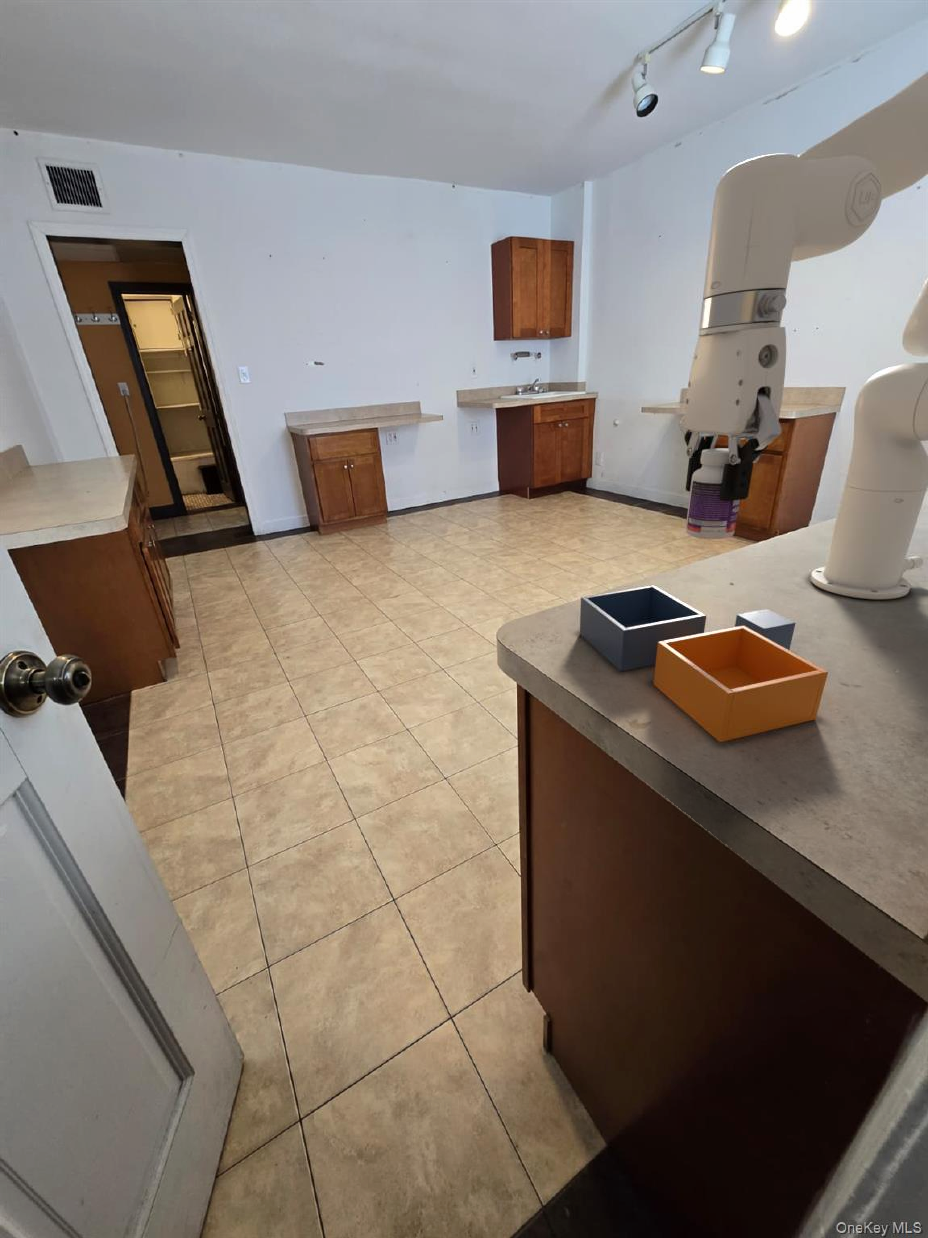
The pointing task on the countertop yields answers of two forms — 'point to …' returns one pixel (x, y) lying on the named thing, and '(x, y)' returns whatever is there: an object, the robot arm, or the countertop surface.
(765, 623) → the blue block
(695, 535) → the pill bottle
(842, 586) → the robot arm
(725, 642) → the amber bin
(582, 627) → the blue bin
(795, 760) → the countertop surface
